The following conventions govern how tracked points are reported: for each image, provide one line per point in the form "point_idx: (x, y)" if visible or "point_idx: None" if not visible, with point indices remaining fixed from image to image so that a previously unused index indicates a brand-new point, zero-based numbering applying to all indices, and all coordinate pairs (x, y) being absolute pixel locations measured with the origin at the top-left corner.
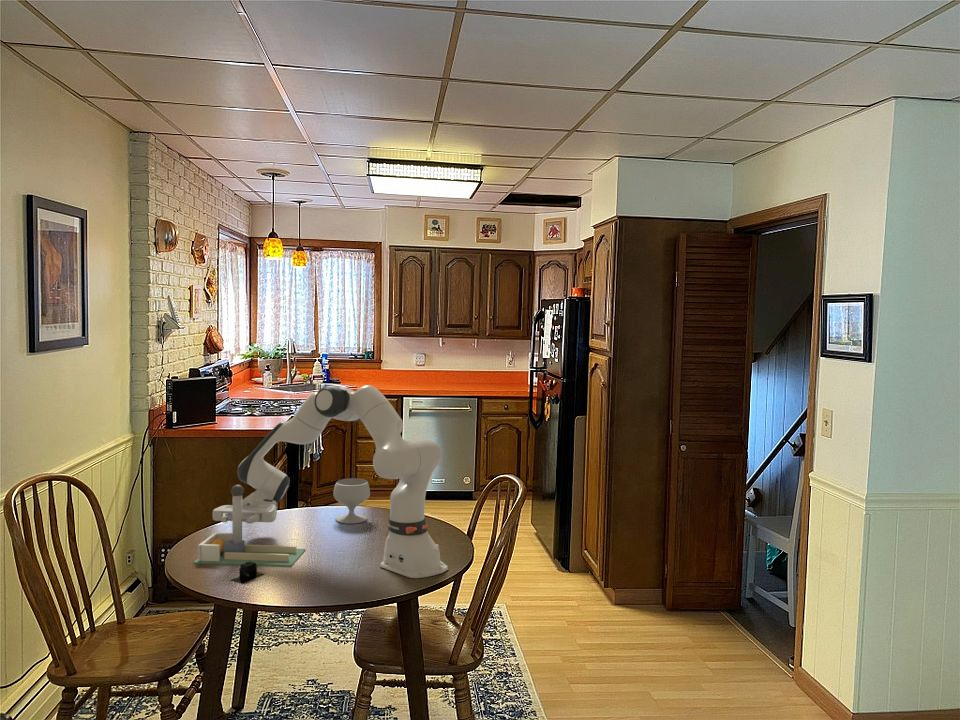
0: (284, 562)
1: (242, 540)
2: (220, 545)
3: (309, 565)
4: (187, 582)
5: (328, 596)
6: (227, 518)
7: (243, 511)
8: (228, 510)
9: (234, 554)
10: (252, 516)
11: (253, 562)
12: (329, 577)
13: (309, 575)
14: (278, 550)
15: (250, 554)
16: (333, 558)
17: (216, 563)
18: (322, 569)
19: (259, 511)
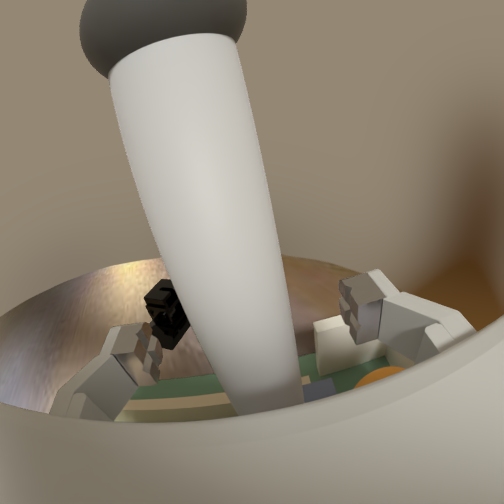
0: None
1: None
2: (356, 385)
3: (46, 396)
4: (299, 262)
5: (59, 293)
6: (352, 312)
7: (213, 419)
8: (465, 353)
9: None
10: (104, 357)
11: (150, 298)
12: (35, 343)
13: (58, 347)
14: None
15: (191, 397)
16: None
17: (313, 354)
18: (32, 375)
19: (30, 419)
